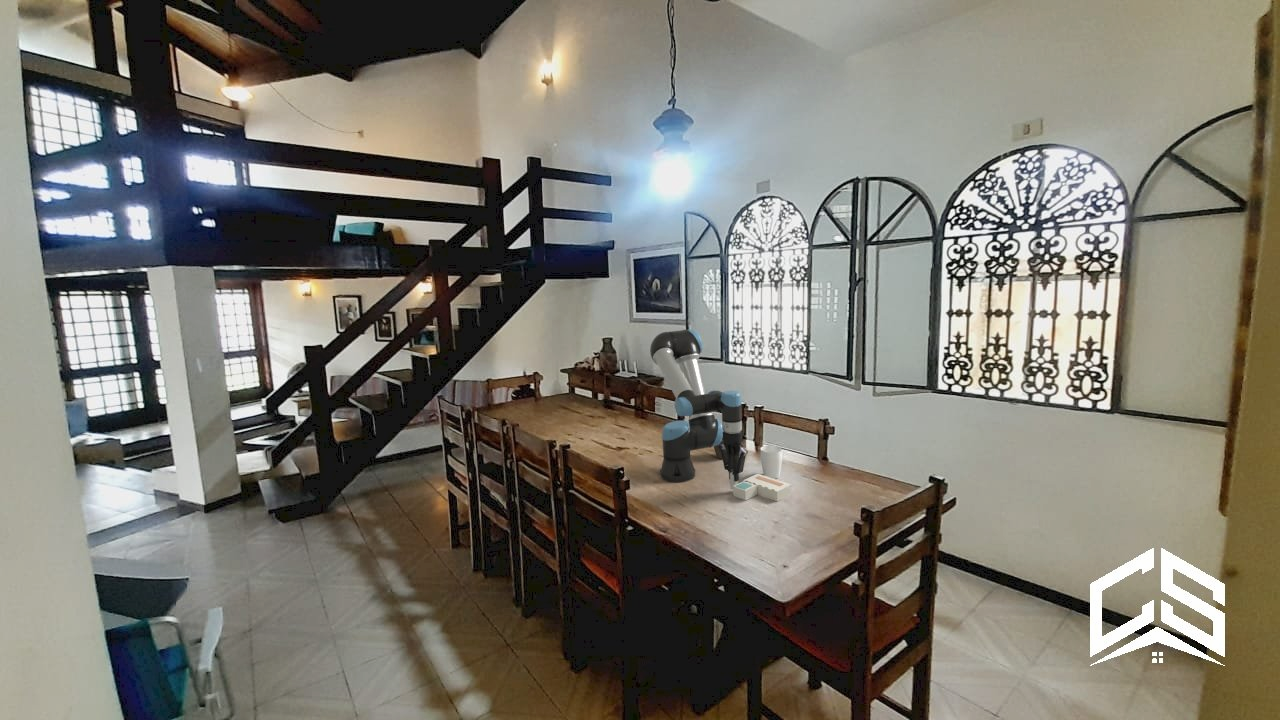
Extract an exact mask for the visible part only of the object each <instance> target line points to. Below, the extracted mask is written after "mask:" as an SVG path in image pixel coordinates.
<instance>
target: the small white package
mask: <svg viewBox="0 0 1280 720" xmlns="http://www.w3.org/2000/svg"><path fill="white" fill-rule="evenodd" d="M743 481H748V482H751V483H754V484H756V485H757V495H756V496H760V497H763V498H766V499H769V500H772V501H775V502H780V501H781V500H784V499H785V498H787V497H788V496H790V495H792V484H791V483H789V482H785V481H782V480H779V479H777V478H776V479H773V478H770V477H767V476H764V475H763V474H760V473H755V474H754V475H751V476H750V477H748V478H745V479H743ZM743 481H742V482H743Z"/></svg>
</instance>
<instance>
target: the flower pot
mask: <svg viewBox="0 0 1280 720" xmlns="http://www.w3.org/2000/svg"><path fill="white" fill-rule="evenodd" d="M723 442H724V441H723V437H722V441H721V443H720V444H719V445H717V446H713V448H714V453H715V456H716V458H717V459H720V460H723V459H722V455H721V451H720V449H719V446H720V445H722V444H723Z"/></svg>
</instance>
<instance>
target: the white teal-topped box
mask: <svg viewBox="0 0 1280 720" xmlns="http://www.w3.org/2000/svg"><path fill="white" fill-rule="evenodd" d="M732 490H733V491H732V493H733V494H732V495H733V497H735V498H737V499H741V500H743V501H748V500H749V499H752V498H753V497H755V496H758V495H757V485H756V484H754V483H751V482H748V481H741V482H738V484H737V485H735V486H733V489H732Z"/></svg>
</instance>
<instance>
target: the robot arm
mask: <svg viewBox="0 0 1280 720" xmlns="http://www.w3.org/2000/svg"><path fill="white" fill-rule="evenodd" d="M649 350H650V351H649V353H650V357H651V359H652V361H653V363H654V364H655V365H657V366H658V368H659V370H660V372H661V373H662V375H663V377H664V379H665V381H666V382H667V384H668V386H669V388H670V390H671V391H672V393H673V396H674V397H675V400H674V409H675V413H676V414H677V415H678V416H679V417H689V418H688V420H683V419H681V420H672V421H670V422H668V423H666V424H664V426H663V427H662V431H661V438H662V439H661V440H662V453H663V460H662V463H661V468H660V470H659V474H660V478H661V479H662V480H664V481H666V482H671V483H682V482H683V483H684V482H687V481H690V480H692V479H694V478H695V477H696V469H695V466H694V464H693V461H692V458H691V451H696V450H702V449H707V448H708V449H710V448H714V446H717V445H719V444H720V443H721V441H722V437H723V441H724V442H723V444H722V445H720V446H719V449H720V451H721V455H722V459H721V460H722V463H723V468H724V470H726V471H727V472H728V479H729V483H730V489H731V490H733V486H735V485H737V484H739V480H740V476H739V475H740V474H741V473H743V472H744V467H745V462H746V456H747V455H748V450H747V449H744V448H743V445H742V441H743V431H742V430H743V421H742V419H743V417H742V412H743V411H742V401H743V400H742V396H741V393H740V392H739V391H737V390H725V391H719V390H715V389H714V390H710V391H709V392H708V393H706V390H705V385H704V382H703V381H704V380H703V377H702V373H701V369H700V365H699V361H698V360H699V358H700V357H701V355H700V354H701V353H702V352H703V341H702V338H701V336H700V334H699V333H698V331H696V330H695V329H682V330H673V331H663V332H661V333H659V334H657V335H656V336H655V337H654V338H653V340H652V342H651V344H650V347H649ZM713 412H720V413H721V420H720V419H718V418H716V417H715V414H714V413H713Z"/></svg>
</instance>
